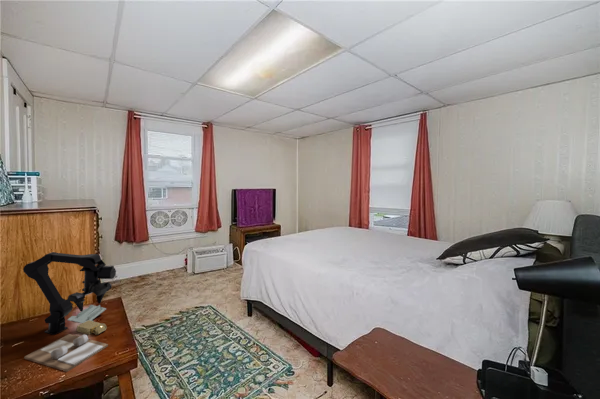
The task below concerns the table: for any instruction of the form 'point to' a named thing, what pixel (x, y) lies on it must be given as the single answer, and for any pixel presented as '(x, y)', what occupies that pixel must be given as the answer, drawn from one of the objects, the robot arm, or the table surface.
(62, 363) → the hinge base
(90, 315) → the metal bracket
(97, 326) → the perfume bottle
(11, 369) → the table surface
